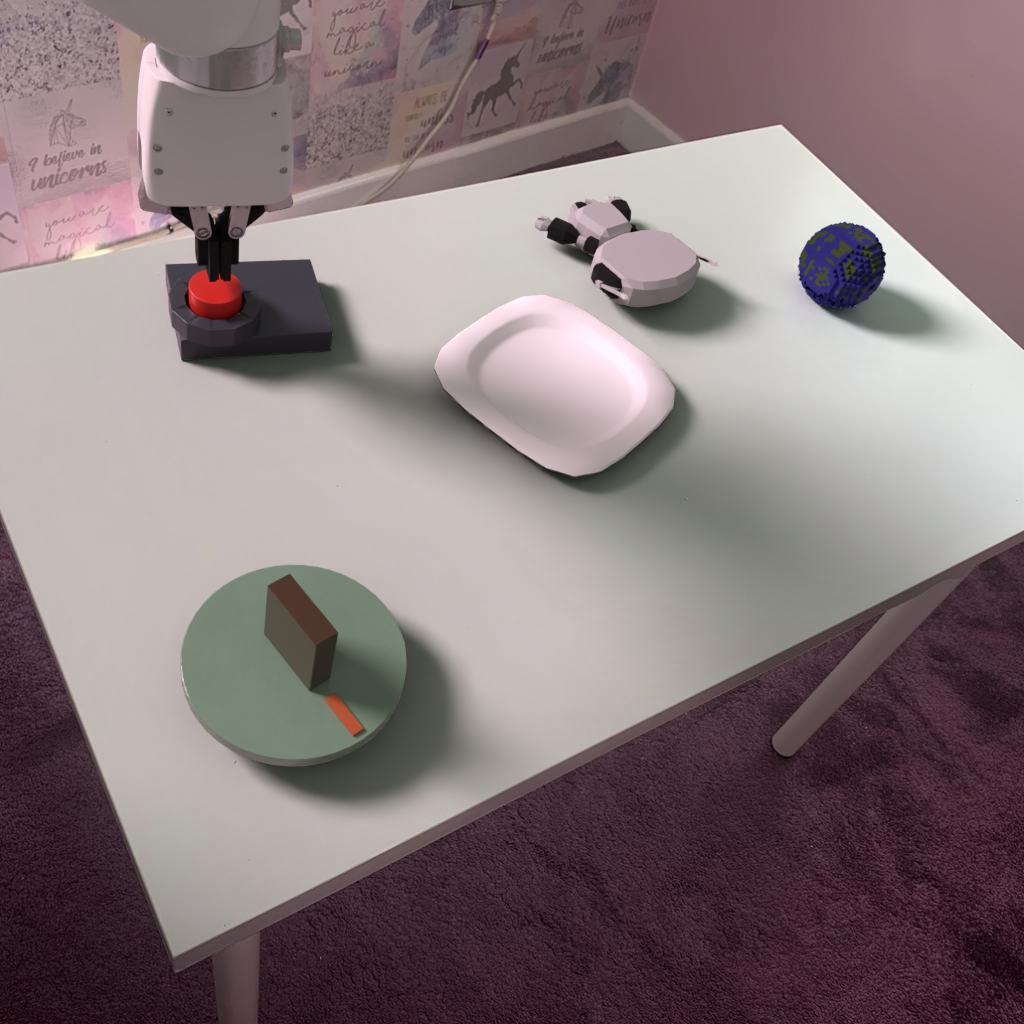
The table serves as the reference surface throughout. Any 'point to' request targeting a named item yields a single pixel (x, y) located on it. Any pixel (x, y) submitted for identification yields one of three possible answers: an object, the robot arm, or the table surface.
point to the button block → (253, 312)
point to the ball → (842, 265)
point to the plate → (556, 384)
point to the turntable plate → (269, 687)
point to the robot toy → (626, 253)
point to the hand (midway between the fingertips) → (216, 269)
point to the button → (215, 296)
